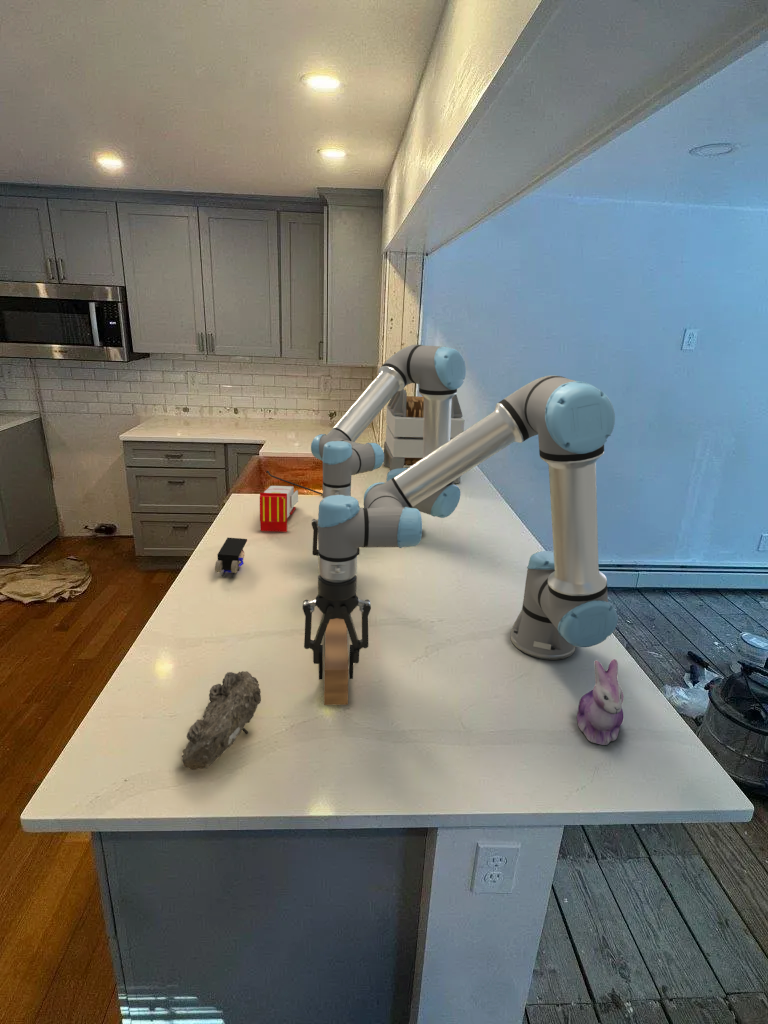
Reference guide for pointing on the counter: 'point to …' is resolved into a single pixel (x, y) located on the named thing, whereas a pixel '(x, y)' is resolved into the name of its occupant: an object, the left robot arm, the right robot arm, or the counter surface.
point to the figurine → (602, 706)
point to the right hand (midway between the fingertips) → (335, 675)
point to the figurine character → (230, 556)
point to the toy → (277, 507)
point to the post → (336, 663)
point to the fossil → (222, 719)
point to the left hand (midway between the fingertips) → (335, 577)
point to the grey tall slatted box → (411, 429)
